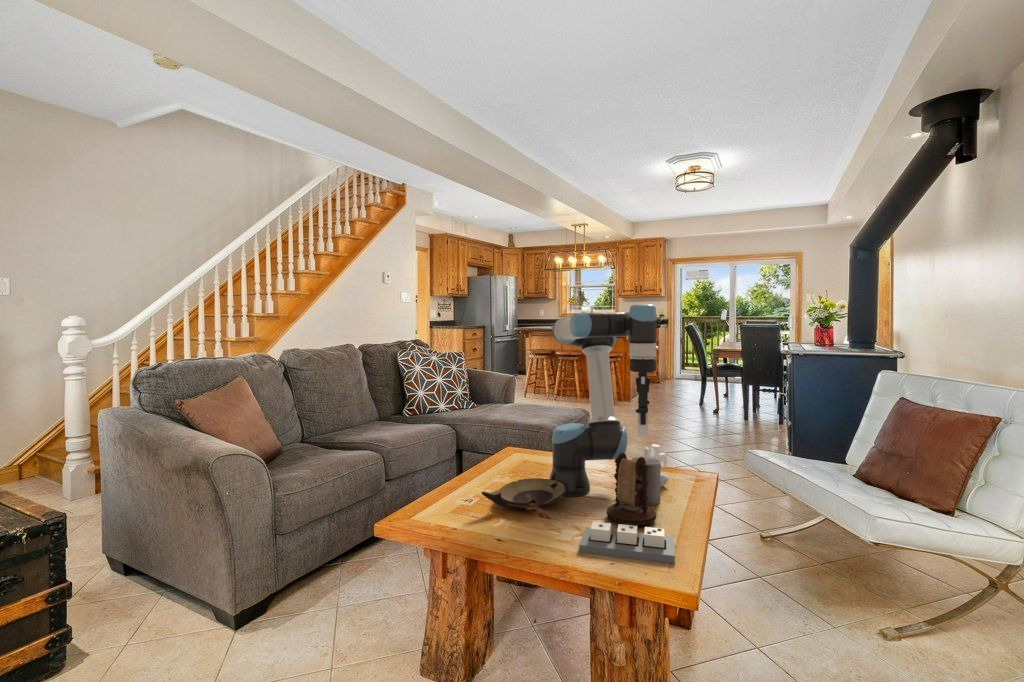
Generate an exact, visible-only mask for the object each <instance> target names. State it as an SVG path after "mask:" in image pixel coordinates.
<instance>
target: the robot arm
mask: <svg viewBox="0 0 1024 682" xmlns="http://www.w3.org/2000/svg"><path fill="white" fill-rule="evenodd" d="M657 320H658V316H657V307H656V305H654V304H632V305H630V307H629V311H628V312H626V311H622V312H621V311H619V312H618V311H616V312H615V311H614V312H611V311H610V312H586V311H585V312H584V311H582V312H574V313H572V314H571V315H570V316H566V317H561V318H559V319H557V320H556V321H555V322H554V324H553V325H552V330H551V331H552V333H551V334H552V336H553V338H554V340H556V342H558V343H559V344H561V345H565V346H568V347H581V352H582V353H583V354H584V355H585V356H586V357H585V358H586V359H585V360H586V367H587V380H588V381H587V382H588V390H589V391H588V392H589V404H590V413H591V415H590V417H591V418H590V419H589V421H588V423H587V425H588V426H587V427H586V425H585V424H584V423H580V422H576V423H575V422H573V423H572V422H571V423H565V424H561V425H558V426H556V427H554V429H553V431H552V437H551V438H552V439H551V442H552V469H551V472H550V475H549V478H548V479H551V480H558V481H559V482H561V483H565V487H566V493H565V494H564V496H563V497H579V496H584V495H587V494H588V493H590V491H591V484H590V480H589V476H588V474H587V471H586V461H607V460H609V461H611V460H615V459H616V458H617V457H618V456H619V454H620V453H625V454H626V451H627V448H628V431H627V429H626V426H623V425H621V421H620V420H619V418H617V417H616V411H615V402H614V393H613V391H614V390H613V381H612V371H611V362H610V360H611V359H610V353H611V351H612V350H613V346H615V345H616V343H617V340H618V339H617V338H619V337H621V338H622V337H623V338H624V337H627V338H629V340H628V341H629V343H628V345H629V347H628V353H629V357H630V359H629V371H630V372H632V373H637V377H635V385H636V392H637V393H638V398H637V400H638V402H637V403H638V404H637V409H635V413H637V437H649V408H648V406H649V405H650V400H648V398H649V396H648V395H649V394H648V393H649V392H650V385H651V378H650V377H648V373H654V372H656V371H657V359H656V358H655V357H657V351H658V350H659V346H656V345H657ZM656 350H657V351H656ZM555 487H556V486H553V487H552V488H555Z"/></svg>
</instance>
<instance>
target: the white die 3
mask: <svg viewBox="0 0 1024 682" xmlns="http://www.w3.org/2000/svg"><path fill="white" fill-rule="evenodd" d="M643 533H644V545H643V547H651V548H660V549H661V548H662V549H664V548H665V547H664V535H665V528H661V527H660V528H659V527H653V526H645V527H644V532H643Z"/></svg>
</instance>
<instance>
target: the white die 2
mask: <svg viewBox="0 0 1024 682" xmlns="http://www.w3.org/2000/svg"><path fill="white" fill-rule="evenodd" d="M616 530H617V543H616V544H624V545H626V544H627V545H633V546H636V545H637V546H638V544H637V532H638V528H637V526H634V525H633V524H623V523H621V524H620V523H619V524H618V526H617V529H616Z"/></svg>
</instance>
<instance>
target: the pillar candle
mask: <svg viewBox="0 0 1024 682" xmlns="http://www.w3.org/2000/svg"><path fill="white" fill-rule="evenodd" d="M639 457H640V456H637V457H633V458H631V460H633V461H637V460H638V458H639ZM642 457H643V458H644V459H645V462H646V464H647V465H648V470H647V471H648V472H647V477H648V478H647V480H648V481H649V485H648V486H647V492H648V493H647V494H646V495H647V496H648V500H647V502H648V503H646V504H647V506H655V505H659V504H660V503H661V477H660V476H661V473H662V472H661V467H662V466H661V461H660V460H658V459H655V458H652V457H646V456H645V457H644V456H642ZM642 476H643V474H642ZM642 476H641V477H640V478H637V477H636V479H640V480H643V478H642ZM640 487H642V485H641V484H638V483H636V482H635V492H636V493H637V491H638V489H639V488H640Z"/></svg>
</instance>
